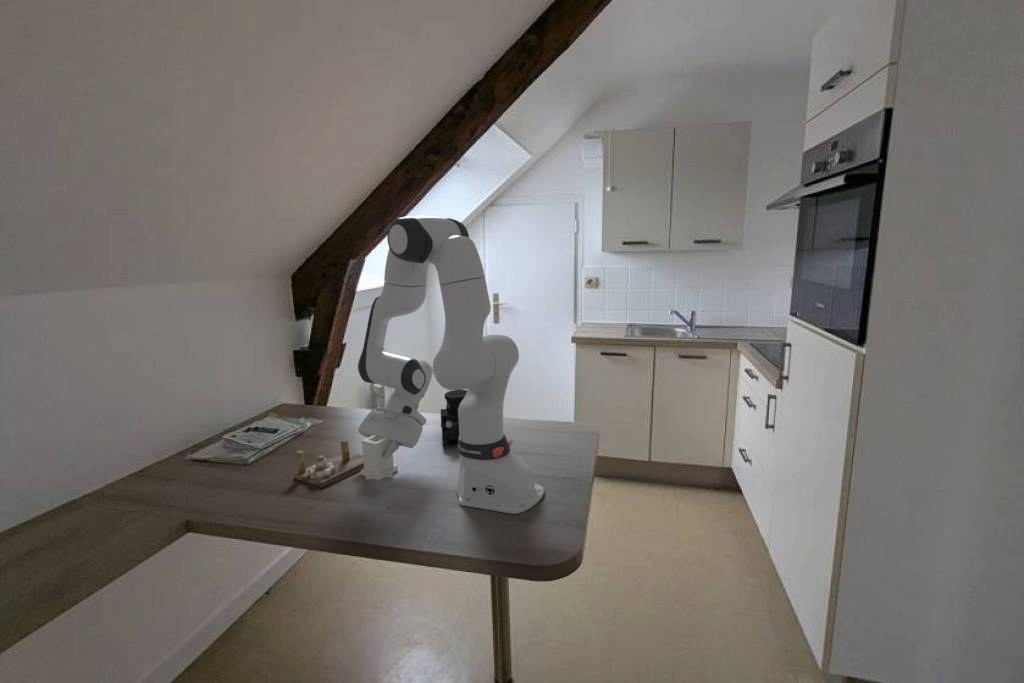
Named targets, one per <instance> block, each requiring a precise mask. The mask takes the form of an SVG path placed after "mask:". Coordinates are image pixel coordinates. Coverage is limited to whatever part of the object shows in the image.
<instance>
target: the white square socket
mask: <svg viewBox="0 0 1024 683" xmlns="http://www.w3.org/2000/svg"><path fill="white" fill-rule="evenodd" d="M391 442H392V441H391V440H388V439H387V438H379V437H377V436H375V435H373V436H371V437H369V438H368V437H365V438H364V439H362V440H361V447H362V455H363V460H364V468H363V469H361V470H360V476H362V475H363V476H362V477H365V481H369V480H375V481H381V480H383V479H385V478H392V477H393V474H394V473H396V472H398V470H399V468H398V464H394V453H393V454H392V455H391V457H390V459H386V458H384V457H382V454H383V452H384V450H388V449H389V448H390V447H391V445H390V444H391Z"/></svg>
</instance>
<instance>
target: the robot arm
mask: <svg viewBox="0 0 1024 683" xmlns="http://www.w3.org/2000/svg"><path fill="white" fill-rule="evenodd" d="M386 236H387V239H386V240H387V244H388V252H387V256H386V261H385V267H384V277H383V278H384V279H383V280H384V281H383V287H382V291H381V292H380V294H379V295H378V296H376V297H375V298H374V300H373V302H372V304H371V307H370V311H369V317H368V321H367V325H366V326H367V327H366V331H365V337H364V343H363V348H362V351H361V354H360V356H359V359H358V363H357V371H358V374H359V376H360V378H361V379H362V381H363V382H365V383H368V384H373V385H380V386H383V387H385V388H386V387H387V388H390V389H394V390H393V391H392V392H391V394H390V395H389V397H388V399H387V401H386V403H385V404H384V405H383V407H380V406H377V407H374V408H373V409H371V410H370V412H369V413H367V415H366V416H365V417H364V419H363V420H362V422H361V423H360V425H359V427H358V429H357V430H358V434H360V435H361V436H362V437H365V438H369V437H371V436H373V435H375V436H377V437H379V438H387V439H388V440H391V441H392V442H391V444H390V445H391V447H390V448H389V449H388V450H384V452H383V454H382V457H384V458H386V459H390V457H391V455H392V454H393V455H394V453H395V452H396V451H397V450H399V448H400V447H401V446H402V447H404V448H409V449H413V448H414V447H415V446H416V445H417V444H418V441H419V440H420V437H421V436H422V433H423V430H424V428H423V426H426V424H427V418H425V417H424V416H423V415H422V414H421V413H420V411H419V410H418V409H419V404H420V402H421V400H422V399H423V398H424V397H425V395H426V393H427V391H428V388H429V386H430V383H431V381H432V377H433V375H434V377H435V380H436V382H437V383H438V385H440V386H441V387H442V388H443V389H445V390H448V391H453V390H467V393H466V395H465V397H464V399H463V400H462V402H461V403H460V405H459V409H458V418H459V437H458V439H457V450H458V453H459V470H458V472H459V474H458V478H457V485H456V488H455V492H456V495H457V496H458V504H459V505H460V506H465V507H469V508H470V507H471V508H477V509H483V510H489V511H493V512H494V511H495V512H500V513H506V514H512V515H517V514H520V513H523V512H526V511H528V510H530V509H532V508H533V507H534V506H535V505H536V504H537V503H539V501H541V499H542V498H543V497H544V494H545V489H544V487H543V486H542V485H540V484H538V483H535V478H534V472H533V471H532V468H531V467H530V466H529V465H527V464H526V463H525V462H524V461H523V460H522V459H520V458H519V457H518V456H517V455H516V454H515V453H514V452H513V451H512V450H511V446H512V445H514V440H513V439H510V441H508V439H507V437H506V434H505V433H504V404H505V396H506V392H507V388H508V384H509V380H510V377H511V376H512V372H513V370H514V369H515V367H516V366H517V364H518V362H519V358H520V357H519V356H520V354H519V348H518V346H517V344H516V342H515V341H514V340H513V339H512V338H511V337H510V336H507V335H502V334H487V335H484V327H485V322H486V320H487V318H488V317H489V315H490V313H491V309H492V308H491V307H492V306H491V300H490V296H489V291H488V286H487V281H486V275H485V270H484V267H483V264H482V259H481V257H480V254H479V251H478V249H477V246H476V244H475V242H474V241H473V240H472V238H470V235H469V232H468V229H467V227H466V226H465V225H464V224H463V223H462V222H461V221H459V220H457V219H454V218H449V217H446V218H444V217H437V216H431V215H418V216H410V215H408V216H402V217H399V218H396V219H394V220H393V221H392V222H391V224H390V225H389V228H388V229H387V235H386ZM430 264H433V266H434V267H435V269H436V271H437V277H438V282H439V287H440V293H441V299H442V304H443V310H444V316H445V317H444V333H443V340H442V343H441V346H440V348H439V350H438V352H437V353H436V354H435V357H434V359H433V362H432V365H431V364H430V363H429V362H427V361H426V360H424V359H422V358H413V357H409V356H405V355H402V354H398V353H393V352H390V351H388V350H386V349H385V346H384V345H385V339H386V334H387V331H388V325H389V323H390V321H391V319H392V318H398V317H402V316H407V315H409V314H412V313H414V312H416V311H418V310H419V309H420V308H421V307H422V306H423V304H424V303H425V300H426V295H427V283H428V282H427V280H428V268H429V265H430Z"/></svg>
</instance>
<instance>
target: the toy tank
mask: <svg viewBox="0 0 1024 683" xmlns="http://www.w3.org/2000/svg"><path fill="white" fill-rule="evenodd" d="M467 390H468V389H463V390H448V391H446V392H445V393H444V399H445V400H446V406H445V408H440V428H441V440H442V442H441V443H442V447H448V443H449V441H451V440H458V437H459V418H458V409H459V405H460V403H461V402H462V400H463V399H464V397H465V395H466V393H467Z"/></svg>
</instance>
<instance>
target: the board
mask: <svg viewBox="0 0 1024 683" xmlns="http://www.w3.org/2000/svg"><path fill="white" fill-rule="evenodd" d="M340 449H341V452H340V453H337V454H335V455H333V456H330V457H327V458H326V457H325V455H323V454H321V455H317V456H316V457H315V458H316V459H315V460H314V464H313V465H310V466H307V467H305V457H304V450H297V451H295V452H294V454H295V456H294V457H295V462H296V472H294V473H293V474H294V475H293V476H294V479H295V478H296V480H298V479H299V481H301V480H302V482H304V481H305V482H304V483H307V482H308V484H310V483H311V484H310V485H312V484H314V485H313V486H315V485H317V486H316V487H318V486H320V487H319V488H321V487H322V489H323V487H324V488H326V487H328V486H329V484H330V485H332V484H334V483H336V482H338V481H340V480H343V479H344V478H346V477H348V476H350V474H351V475H353V474H354V472H355V473H356V472H358V470H359V471H361V470H360V469H362V468H364V460H363V454H358V453H355V452H352V451H350V447H349V439H345V438H344V439H341V440H340ZM352 473H353V474H352ZM339 479H340V480H339ZM337 480H338V481H337ZM335 481H336V482H335ZM333 482H334V483H333ZM331 483H332V484H331ZM327 485H328V486H327ZM325 486H326V487H325Z"/></svg>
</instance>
